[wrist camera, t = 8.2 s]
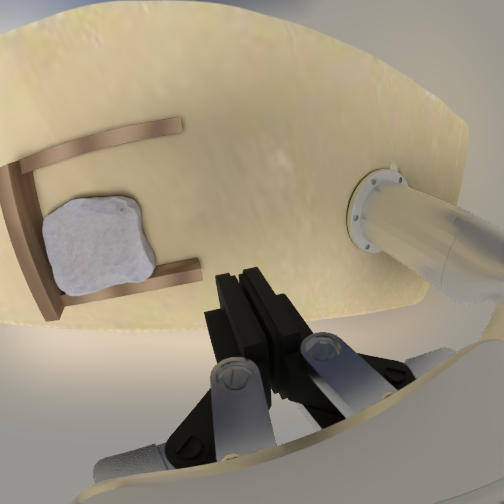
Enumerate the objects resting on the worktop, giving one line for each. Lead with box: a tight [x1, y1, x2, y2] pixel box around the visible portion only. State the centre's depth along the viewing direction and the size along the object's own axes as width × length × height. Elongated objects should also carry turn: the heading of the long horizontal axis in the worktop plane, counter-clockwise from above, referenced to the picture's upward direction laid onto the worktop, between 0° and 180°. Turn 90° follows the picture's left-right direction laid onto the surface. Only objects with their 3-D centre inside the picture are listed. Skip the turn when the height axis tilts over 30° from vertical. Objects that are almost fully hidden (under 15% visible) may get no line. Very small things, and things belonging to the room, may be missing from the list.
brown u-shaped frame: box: [0, 117, 203, 322], centre depth 23 cm, size 19×17×5 cm
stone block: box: [42, 196, 156, 296], centre depth 25 cm, size 12×5×10 cm
